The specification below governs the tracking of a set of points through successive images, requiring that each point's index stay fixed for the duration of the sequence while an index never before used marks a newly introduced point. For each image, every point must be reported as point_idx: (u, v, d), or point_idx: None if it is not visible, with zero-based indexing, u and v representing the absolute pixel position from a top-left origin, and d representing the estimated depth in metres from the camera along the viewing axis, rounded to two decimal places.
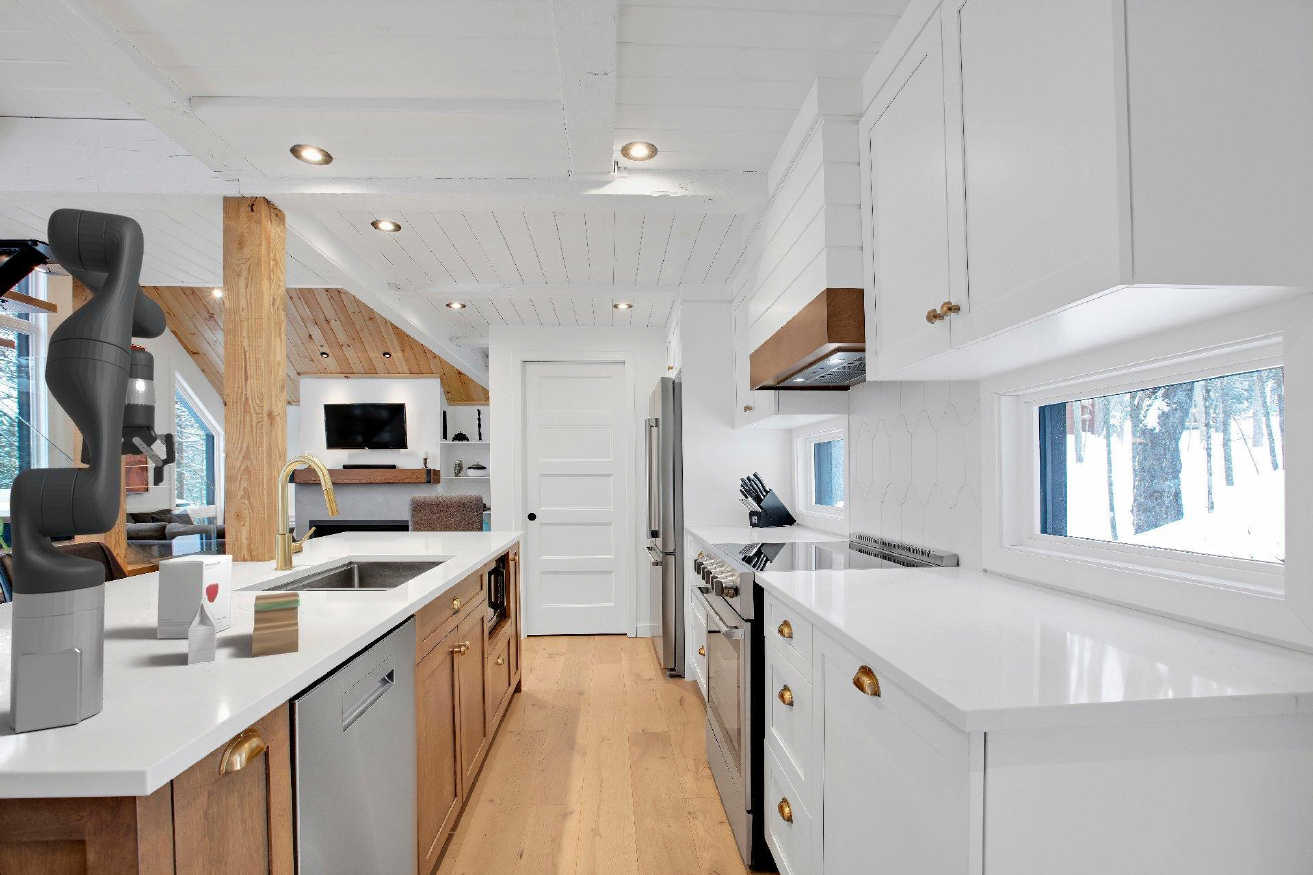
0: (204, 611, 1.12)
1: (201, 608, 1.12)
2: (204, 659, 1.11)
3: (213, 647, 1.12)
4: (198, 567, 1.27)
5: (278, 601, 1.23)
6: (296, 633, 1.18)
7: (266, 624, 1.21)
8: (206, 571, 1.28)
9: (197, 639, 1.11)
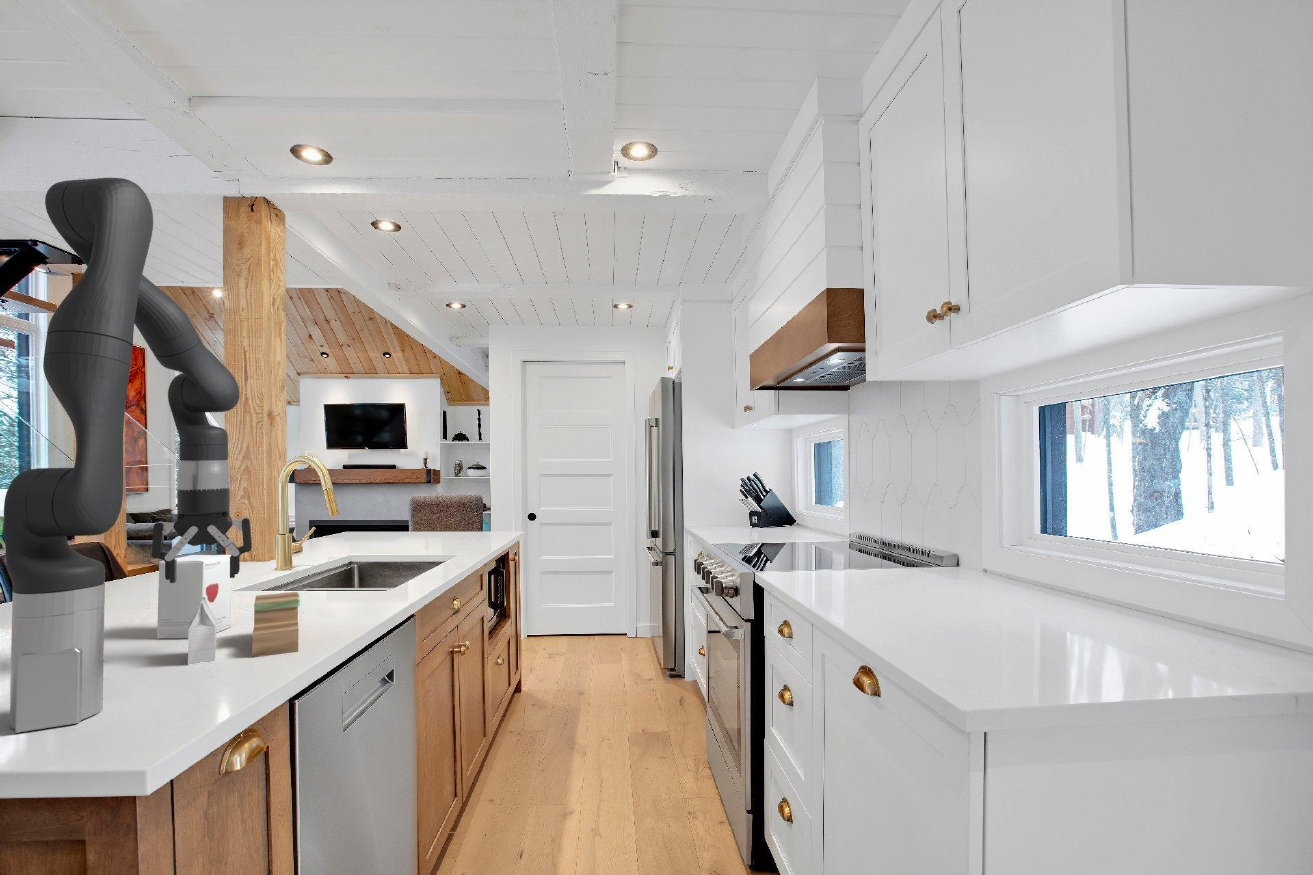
0: (204, 611, 1.12)
1: (201, 608, 1.12)
2: (204, 658, 1.11)
3: (213, 647, 1.12)
4: (198, 567, 1.27)
5: (278, 601, 1.23)
6: (296, 633, 1.18)
7: (266, 624, 1.21)
8: (206, 571, 1.28)
9: (197, 639, 1.11)
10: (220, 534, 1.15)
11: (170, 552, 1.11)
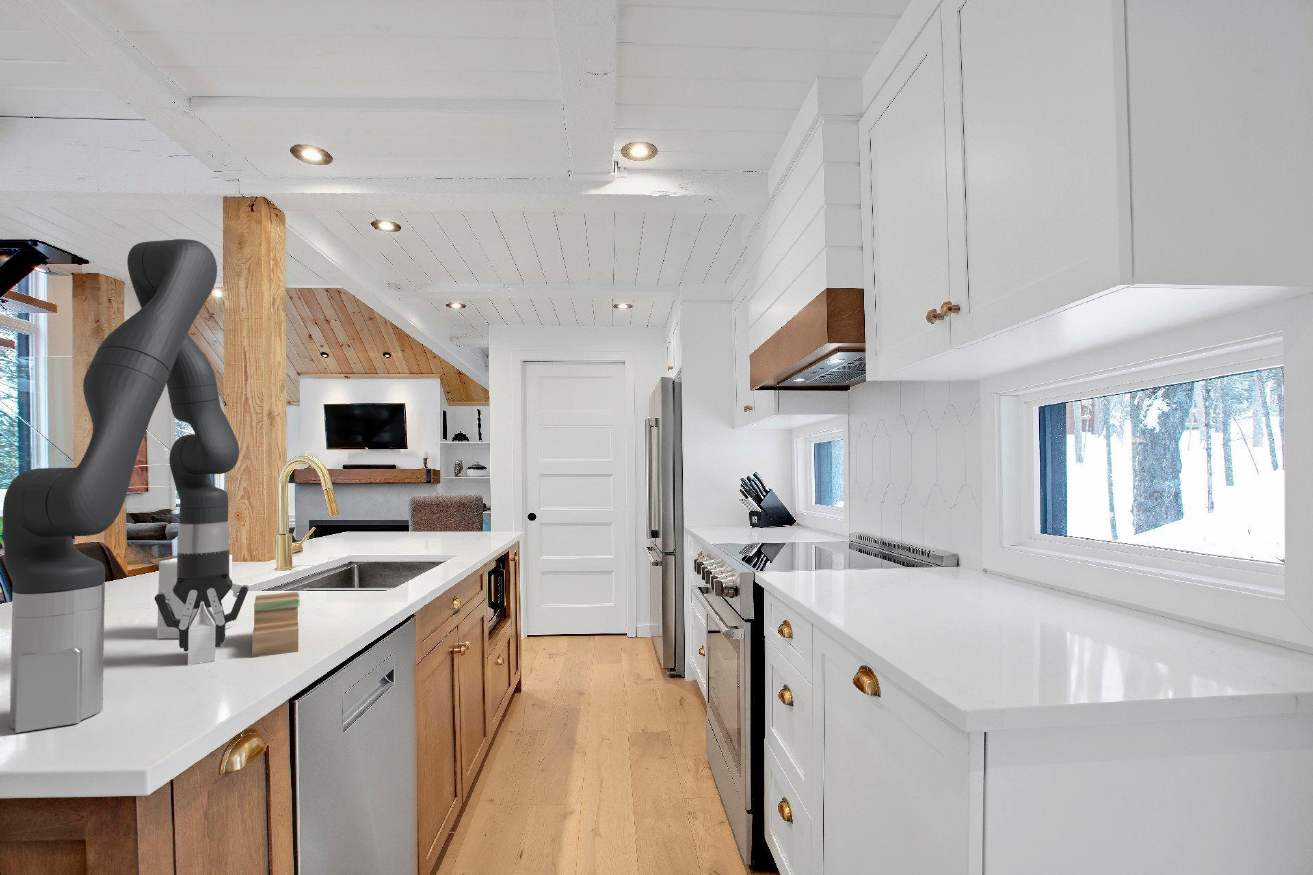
0: (204, 611, 1.12)
1: (201, 608, 1.12)
2: (204, 658, 1.11)
3: (213, 647, 1.12)
4: None
5: (278, 601, 1.23)
6: (296, 633, 1.18)
7: (266, 624, 1.21)
8: None
9: (197, 639, 1.11)
10: (216, 599, 1.14)
11: (182, 621, 1.12)
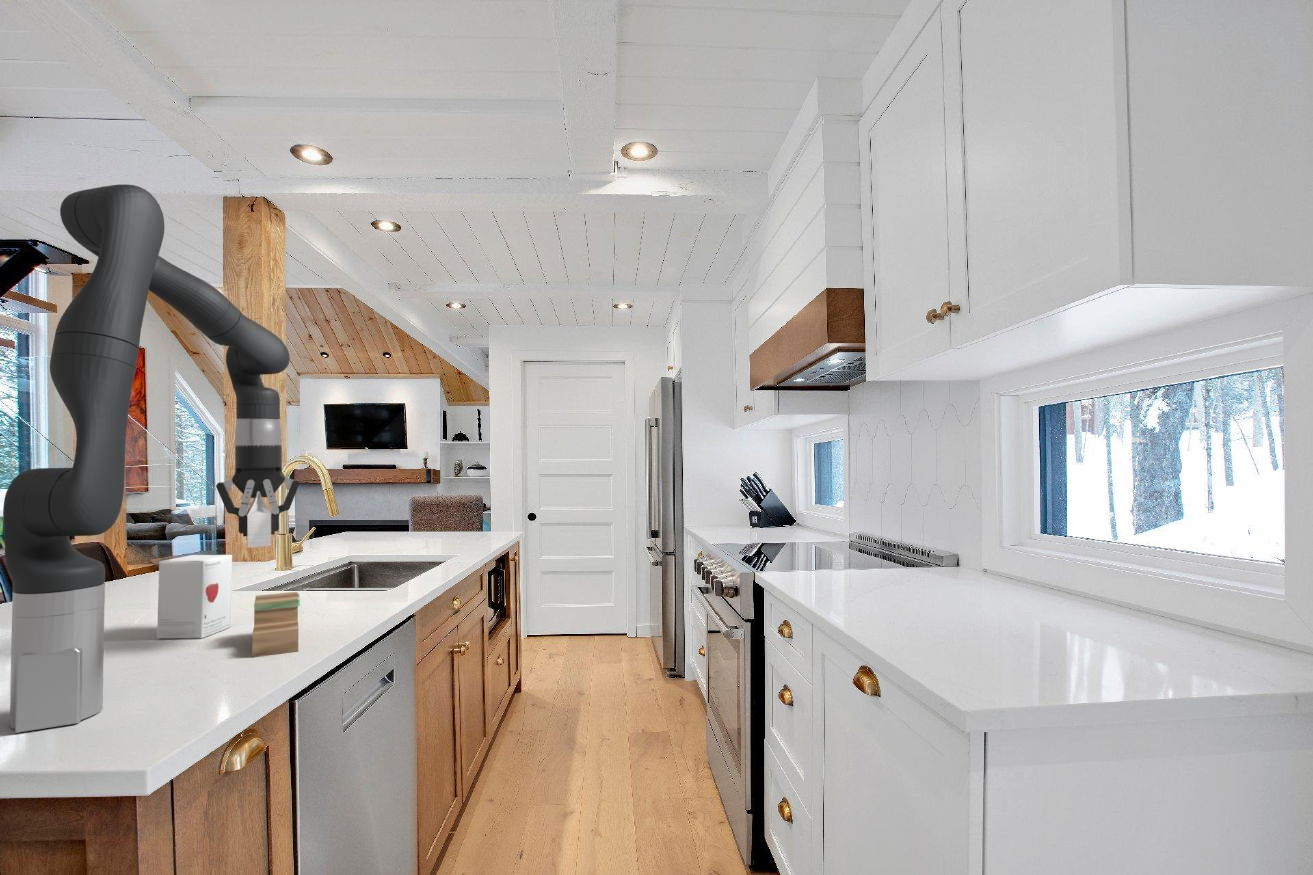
0: (261, 499, 1.21)
1: (258, 496, 1.21)
2: (262, 542, 1.21)
3: (269, 532, 1.22)
4: (198, 567, 1.27)
5: (278, 601, 1.23)
6: (296, 633, 1.18)
7: (266, 624, 1.21)
8: (206, 571, 1.28)
9: (255, 524, 1.21)
10: (271, 490, 1.23)
11: (241, 508, 1.21)
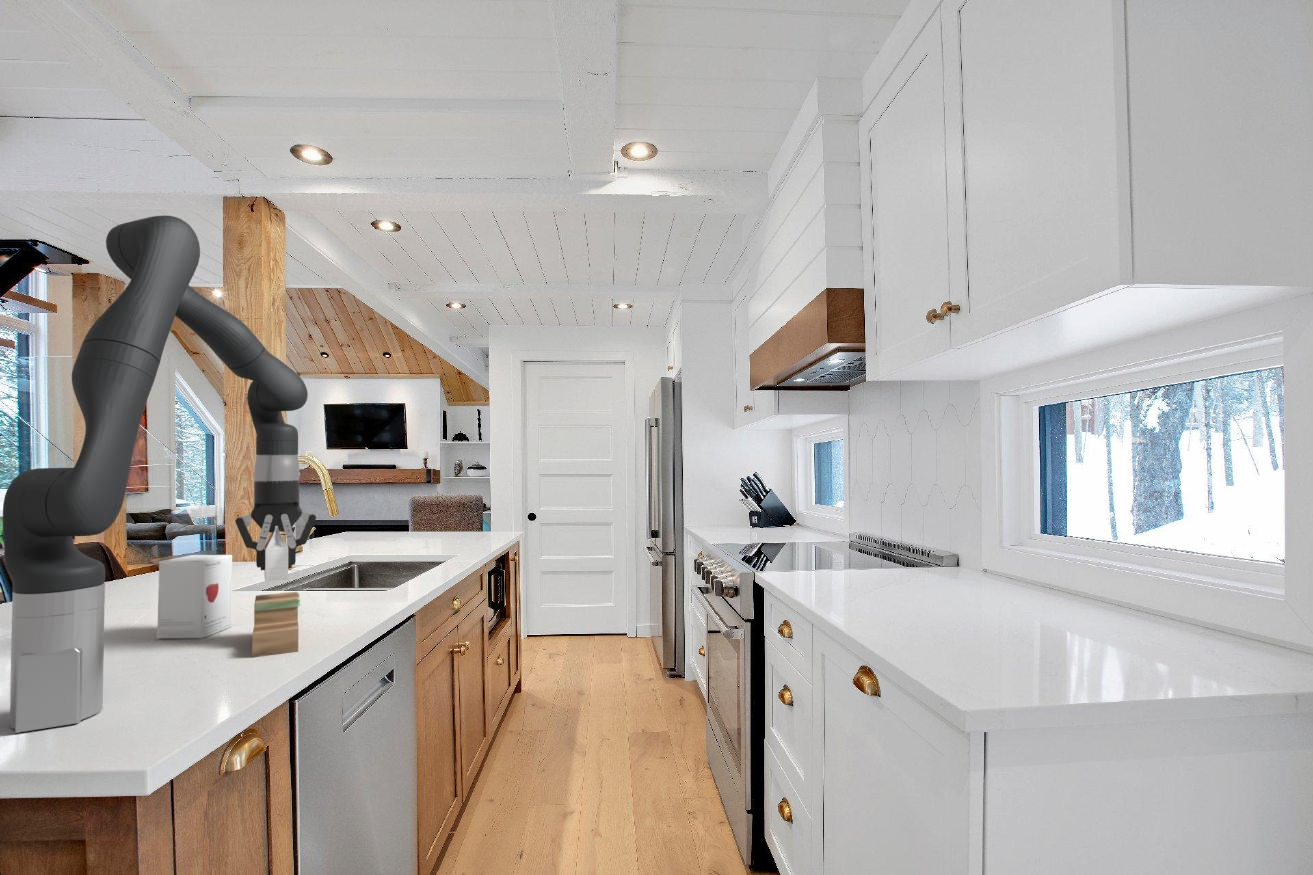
0: (279, 534, 1.24)
1: (276, 531, 1.24)
2: (279, 576, 1.23)
3: (287, 566, 1.24)
4: (198, 567, 1.27)
5: (278, 601, 1.23)
6: (296, 633, 1.18)
7: (266, 624, 1.21)
8: (206, 571, 1.28)
9: (273, 558, 1.23)
10: (288, 524, 1.26)
11: (259, 542, 1.24)
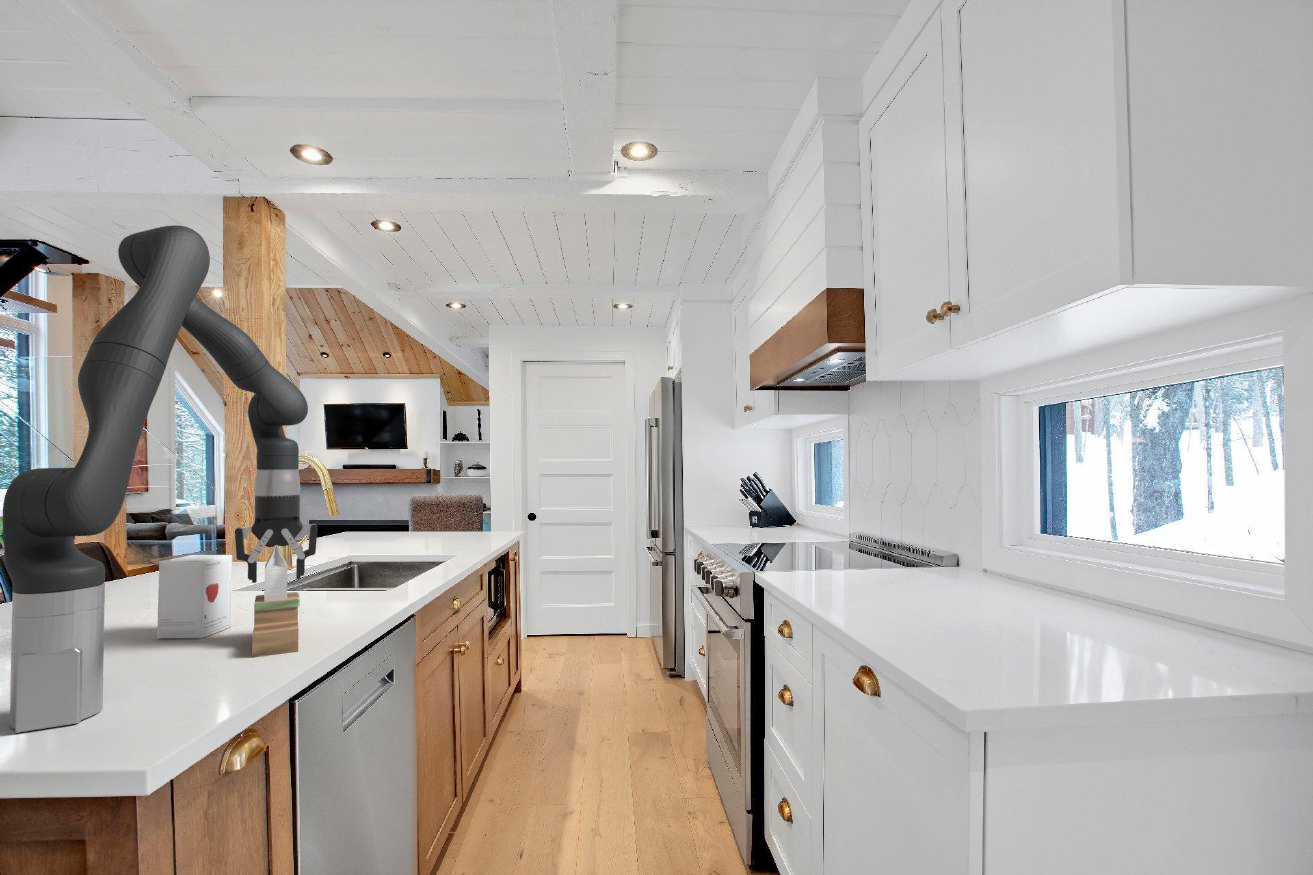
0: (278, 553, 1.24)
1: (275, 551, 1.24)
2: (278, 596, 1.23)
3: (286, 586, 1.24)
4: (198, 567, 1.27)
5: (278, 601, 1.23)
6: (296, 633, 1.18)
7: (266, 624, 1.21)
8: (206, 571, 1.28)
9: (272, 578, 1.23)
10: (291, 537, 1.26)
11: (252, 555, 1.23)
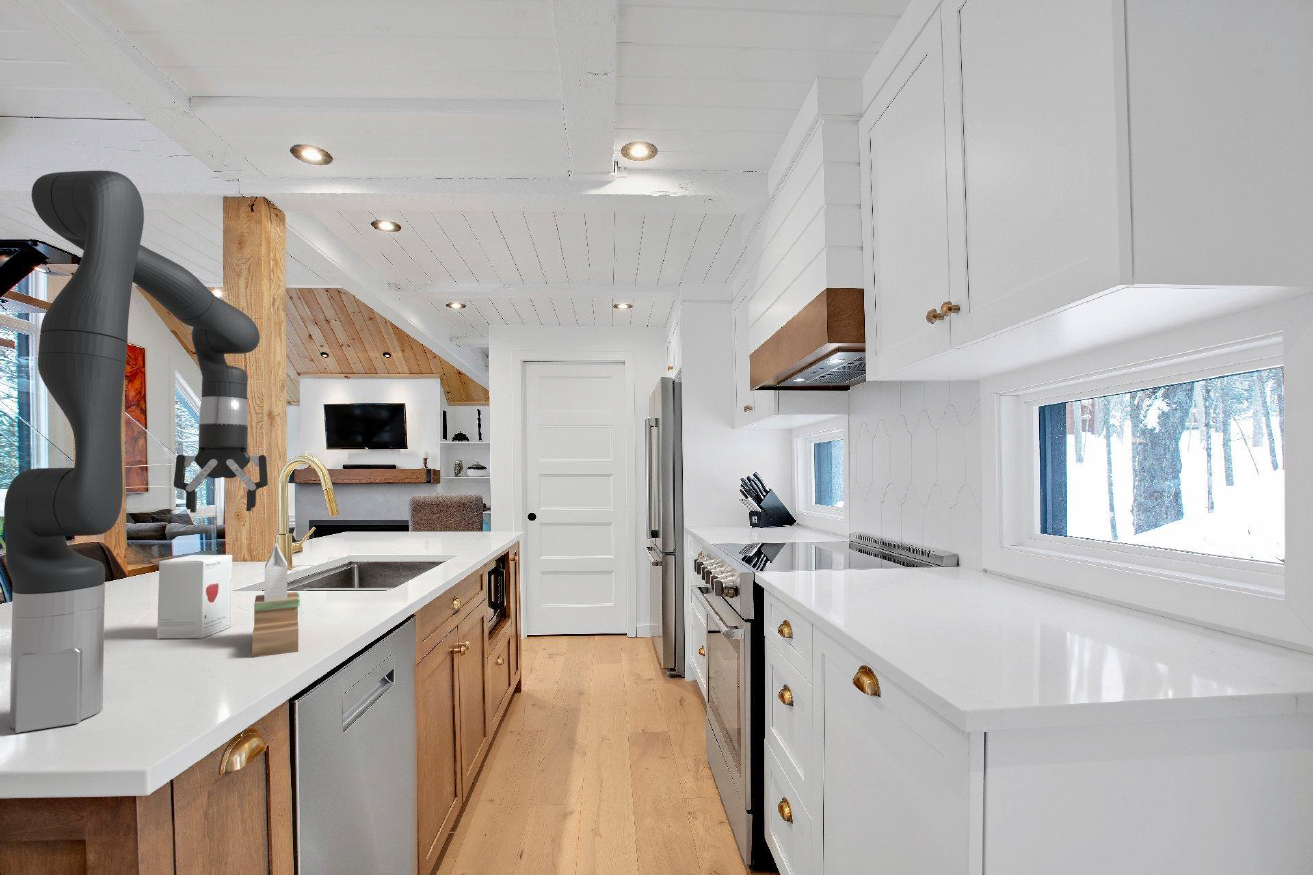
0: (278, 553, 1.24)
1: (275, 551, 1.24)
2: (278, 596, 1.23)
3: (286, 586, 1.24)
4: (198, 567, 1.27)
5: (278, 601, 1.23)
6: (296, 633, 1.18)
7: (266, 624, 1.21)
8: (206, 571, 1.28)
9: (272, 578, 1.23)
10: (238, 468, 1.21)
11: (191, 483, 1.17)
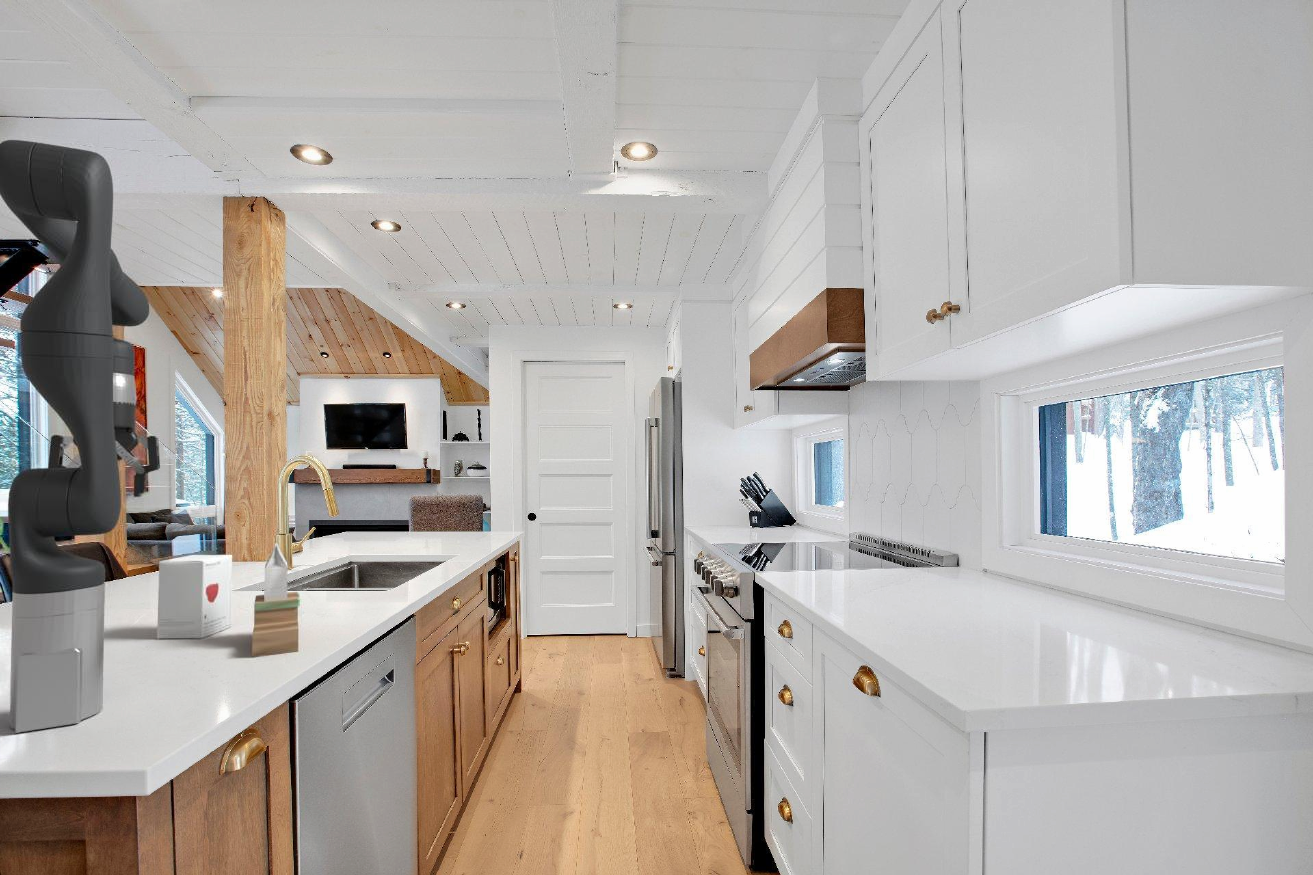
0: (278, 553, 1.24)
1: (275, 551, 1.24)
2: (278, 596, 1.23)
3: (286, 586, 1.24)
4: (198, 567, 1.27)
5: (278, 601, 1.23)
6: (296, 633, 1.18)
7: (266, 624, 1.21)
8: (206, 571, 1.28)
9: (272, 578, 1.23)
10: (123, 450, 1.11)
11: (68, 466, 1.08)
